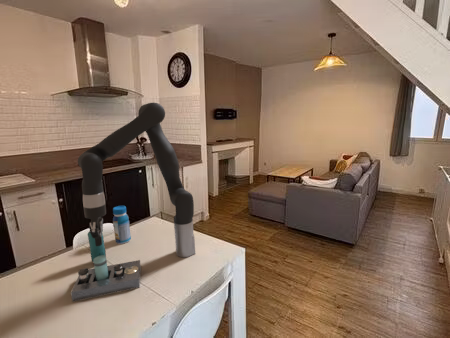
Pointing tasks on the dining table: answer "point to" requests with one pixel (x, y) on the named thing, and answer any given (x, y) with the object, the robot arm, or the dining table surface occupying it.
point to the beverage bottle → (95, 249)
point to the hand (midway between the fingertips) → (99, 245)
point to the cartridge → (101, 268)
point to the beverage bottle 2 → (121, 225)
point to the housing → (108, 282)
